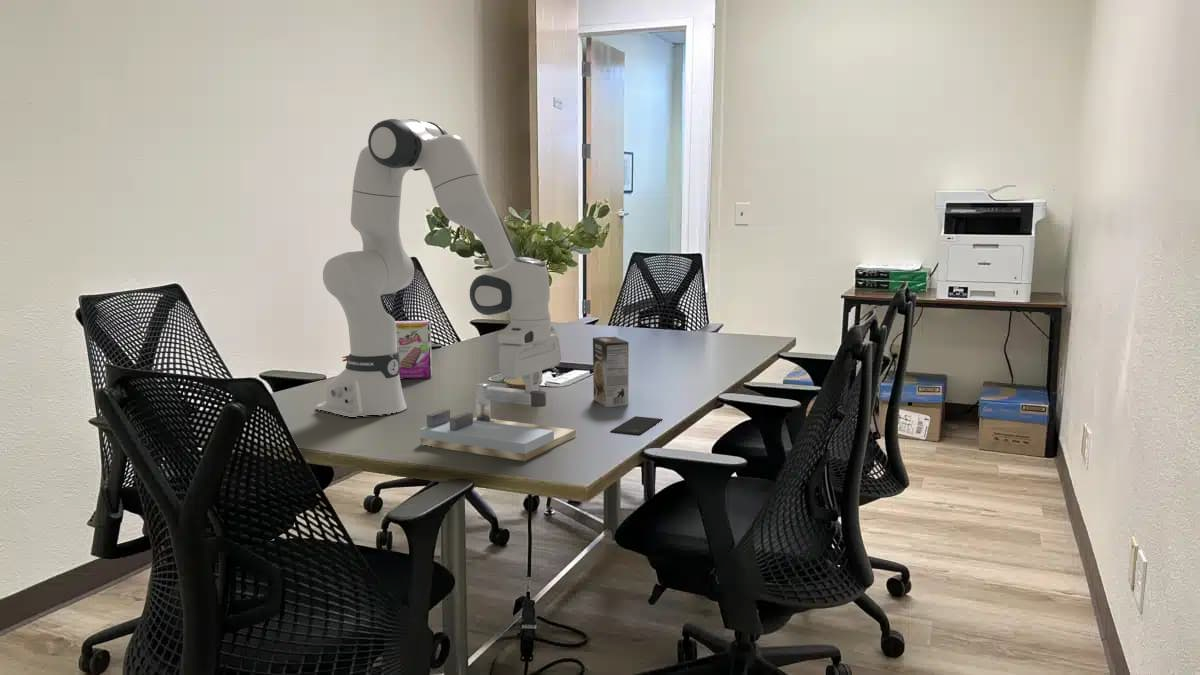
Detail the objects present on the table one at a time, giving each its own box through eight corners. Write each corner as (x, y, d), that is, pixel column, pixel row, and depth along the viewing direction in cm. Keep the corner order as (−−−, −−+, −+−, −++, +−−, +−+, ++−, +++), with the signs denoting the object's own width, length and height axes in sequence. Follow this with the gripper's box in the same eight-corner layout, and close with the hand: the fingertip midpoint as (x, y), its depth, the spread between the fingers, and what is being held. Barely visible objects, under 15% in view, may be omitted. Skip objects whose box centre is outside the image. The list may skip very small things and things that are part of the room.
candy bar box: (392, 380, 253) (389, 323, 250) (394, 376, 258) (391, 320, 255) (431, 378, 254) (429, 322, 252) (433, 375, 259) (430, 319, 257)
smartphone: (633, 418, 208) (609, 434, 194) (633, 415, 208) (609, 430, 194) (663, 421, 205) (640, 437, 191) (663, 418, 205) (640, 433, 191)
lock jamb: (420, 445, 186) (419, 417, 185) (477, 423, 203) (476, 397, 202) (525, 461, 174) (524, 431, 173) (575, 436, 191) (575, 409, 190)
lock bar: (473, 421, 198) (471, 385, 196) (482, 418, 201) (480, 382, 199) (541, 430, 189) (540, 393, 188) (549, 426, 192) (548, 390, 191)
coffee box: (592, 399, 226) (591, 337, 223) (615, 397, 228) (615, 335, 226) (605, 407, 217) (604, 342, 215) (629, 405, 220) (629, 341, 217)
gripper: (543, 324, 207) (544, 382, 209) (493, 336, 189) (495, 399, 191) (566, 325, 204) (567, 384, 206) (517, 338, 186) (519, 402, 188)
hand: (532, 391), depth 199 cm, fingers closed
